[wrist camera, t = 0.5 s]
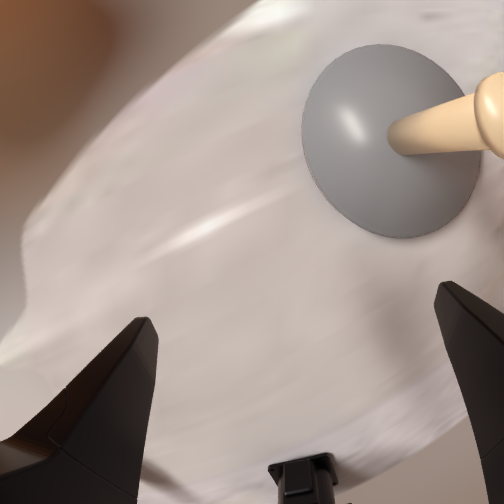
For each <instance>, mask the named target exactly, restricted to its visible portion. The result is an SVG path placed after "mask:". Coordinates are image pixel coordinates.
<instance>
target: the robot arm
mask: <svg viewBox="0 0 504 504" xmlns="http://www.w3.org/2000/svg"><path fill="white" fill-rule="evenodd" d="M434 309H435V313H436V316H437V319H438V322H439V326H440V329H441V333H442V336H443V340H444V344H445V347H446V350H447V353H448V356H449V358H450V361H451V364H452V367H453V369H454V372H455V375H456V378H457V381H458V384H459V386H460V389H461V392H462V395H463V399H464V402H465V405H466V408H467V411H468V415H469V418H470V421H471V425H472V428H473V432H474V436H475V440H476V443H477V447H478V451H479V455H480V459H481V465H482V469H483V474H484V479H485V484H486V489H487V495H488V500H489V504H504V314H503V313H502V312H500V311H499V310H497V309H496V308H494V307H493V306H491V305H489V304H488V303H486V302H485V301H483V300H482V299H480V298H479V297H477V296H475V295H474V294H472V293H471V292H469V291H467V290H466V289H464V288H463V287H461V286H459V285H458V284H456V283H455V282H453V281H446V282H441V283H440V284H439V286H438V290H437V294H436V298H435V301H434ZM158 343H159V339H158V335H157V332H156V330H155V328H154V326H153V324H152V322H151V320H150V319H149V318H148V317H136V318H135V319H134V320H133V321H132V322H131V323H130V324H128V325H127V326H126V327H125V328H124V329H123V330H122V331H121V332H120V333H119V334H118V335H117V336H116V337H115V338H114V339H113V340H112V341H111V342H110V343H109V344H108V345H107V346H106V347H105V348H104V349H103V350H102V351H101V352H100V353H99V354H98V355H97V356H96V357H95V358H94V359H93V360H92V361H91V362H90V363H89V364H88V365H87V366H86V367H85V368H84V369H83V370H82V371H81V372H80V373H79V374H78V375H77V376H76V377H75V378H74V379H73V380H72V381H71V382H70V383H69V384H68V385H67V386H66V388H64V389H63V390H62V391H61V392H60V393H59V394H58V395H57V396H56V397H55V398H54V399H53V400H52V401H51V402H50V403H49V404H48V405H47V406H46V407H45V408H43V409H42V410H41V411H40V412H39V413H38V414H37V415H36V416H34V417H33V418H32V419H31V420H30V421H29V422H28V423H27V424H25V425H24V426H23V427H22V428H21V429H19V430H18V431H17V432H16V433H15V434H14V435H12V436H11V437H9V438H8V439H6V440H3V441H0V504H137V498H138V489H139V481H140V474H141V467H142V460H143V453H144V446H145V440H146V433H147V427H148V421H149V415H150V409H151V404H152V398H153V393H154V387H155V379H156V366H157V354H158ZM268 472H269V473H270V475H271V476H272V478H273V480H274V481H275V483H276V484H277V486H278V504H335V499H334V492H333V486H335V485H337V484H338V479H337V476H336V473H335V471H334V468H333V465H332V462H331V460H330V457H329V455H328V454H327V453H324V454H319V455H315V456H311V457H307V458H303V459H298V460H294V461H289V462H284V463H279V464H274V465H270V466H268ZM348 504H352V503H348Z"/></svg>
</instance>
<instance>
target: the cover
mask: <svg viewBox="0 0 504 504" xmlns="http://www.w3.org/2000/svg"><path fill="white" fill-rule="evenodd" d="M302 143H303V149H304V155H305V158H306V161H307V165H308V168H309V170H310V172H311V175H312V177H313V179H314V181H315V183H316V184H317V186H318V188H319V190H320V191H321V192H322V194H323V195H324V196H325V198H326V199H327V201H328V202H329V203H330V204H331V205H332V206H333V207H334V208H335V209H336V210H337V211H338V212H340V213H341V214H342V215H343V216H344V217H346V218H347V219H349V220H350V221H352V222H353V223H355V224H357V225H358V226H360V227H361V228H364V229H366V230H368V231H370V232H372V233H376V234H379V235H382V236H387V237H394V238H410V237H417V236H421V235H425V234H428V233H430V232H433V231H435V230H437V229H439V228H440V227H442V226H443V225H445V224H447V223H448V222H449V221H450V220H451V219H452V218H454V217H455V216H456V215H457V214H458V212H459V211H460V210H461V209H462V208H463V206H464V205H465V203H466V202H467V200H468V199H469V197H470V195H471V193H472V191H473V188H474V186H475V183H476V180H477V176H478V171H479V166H480V155H481V153H480V150H491V151H492V152H493V153H494V154H496V155H497V156H498V157H500V158H502V159H504V72H499V73H496V74H493V75H491V76H488V77H486V78H484V79H483V80H481V81H480V83H479V84H478V86H477V88H476V91H475V93H473V94H470V95H467V96H465V95H464V93H463V92H462V90H461V89H460V87H459V86H458V85H457V83H456V82H455V81H454V80H453V79H452V77H451V76H450V75H449V74H448V73H447V72H446V71H445V70H444V69H442V68H441V67H440V66H439V65H437V64H436V63H435V62H433V61H432V60H430V59H429V58H427V57H425V56H424V55H422V54H420V53H417V52H415V51H413V50H410V49H407V48H404V47H400V46H394V45H382V44H377V45H368V46H363V47H359V48H356V49H353V50H351V51H349V52H346V53H344V54H343V55H341V56H340V57H338V58H337V59H335V60H334V61H333V62H332V63H331V64H329V65H328V66H327V67H326V68H325V69H324V71H323V72H322V73H321V74H320V76H319V77H318V79H317V80H316V82H315V84H314V85H313V87H312V89H311V91H310V94H309V96H308V99H307V101H306V104H305V108H304V112H303V119H302Z"/></svg>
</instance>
